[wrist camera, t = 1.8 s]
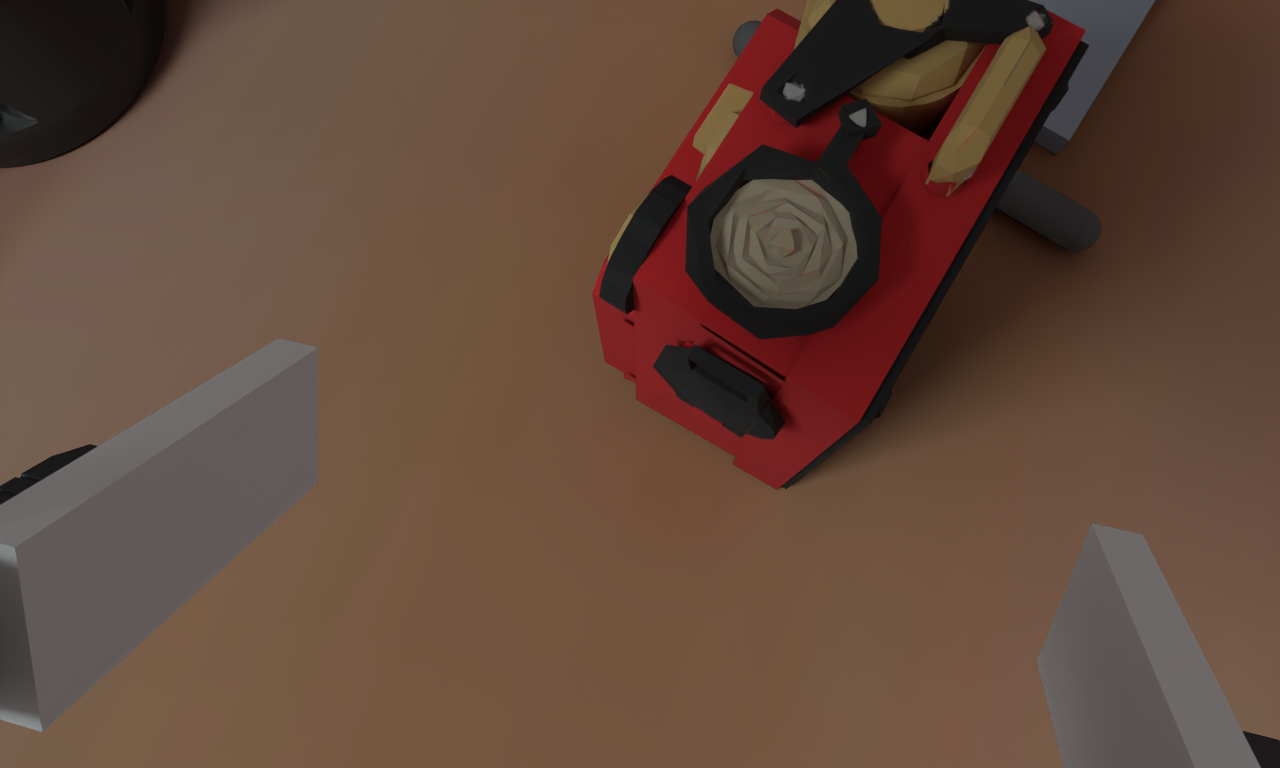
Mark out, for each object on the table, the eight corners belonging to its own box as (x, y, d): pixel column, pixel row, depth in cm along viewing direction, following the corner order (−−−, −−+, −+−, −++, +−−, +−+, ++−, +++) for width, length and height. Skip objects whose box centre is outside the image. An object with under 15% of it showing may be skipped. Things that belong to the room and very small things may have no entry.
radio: (756, 137, 48) (833, -183, 28) (938, 239, 46) (1150, -23, 27) (586, 403, 45) (538, 252, 25) (775, 518, 43) (878, 454, 24)
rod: (723, 58, 48) (726, 35, 46) (744, 28, 49) (748, 5, 47) (1076, 264, 46) (1096, 249, 44) (1096, 231, 46) (1116, 215, 44)
